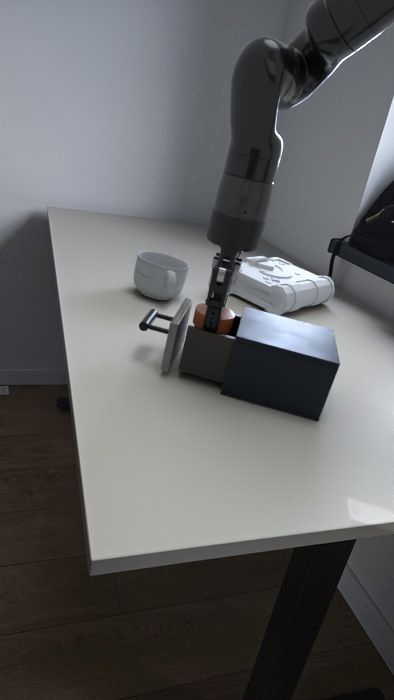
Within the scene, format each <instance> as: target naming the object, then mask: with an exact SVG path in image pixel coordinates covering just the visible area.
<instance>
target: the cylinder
mask: <svg viewBox="0 0 394 700" xmlns="http://www.w3.org/2000/svg"><path fill="white" fill-rule="evenodd" d="M206 310H207V305H206V302H201V303H197V304H196V306H195V309H194V313H193V317H192V324H193V326H194V325H195V326H196V327H199V328H202V329H203V323H204V318H205V314H206ZM234 313H235V312H234V311H232V310H231V309H230V308H229V307H227V306H225V307H224V309H223V310H222V314H221V319H220V323H219V327H218V330H217V331H216V332H217V333H221V334H227V333H229V332H230V331H231V329H232V325H233V321H234V318H235V314H236V313H235V314H234Z"/></svg>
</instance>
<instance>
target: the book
mask: <svg viewBox="0 0 394 700" xmlns="http://www.w3.org/2000/svg"><path fill="white" fill-rule="evenodd" d="M244 258H245V259H244V262H243V261H242V264H241V268H240V270H239V273H238V275H237V278H236V282H235V284H234V285H233V289H232V292H231V293H230V294H231V295H236V296H238V297H240V298H242V299H244V300H246V301H248V302H250V303H252V304H254V305H257V306H258V307H261V308H263V309H264V311H265V312H267V313H271V314H275V315H278V316H282V315H283V314H285V313H286V314H287V313H290V312H294V311H298V310H300V308H307V307H313V306H316V305H320V304H324V303H328V302H329V301H330V300H331V299H333V297H334V295H335V290H336V289H335V283H334V281H333V279H332V278H331V277H330V276H327V275H318V274H315V273H313V272H310V271H308V270H305V269H303V268H301V267H299V266H296V265H294V264H293V263H292V262H290V261H288V260H285V259H284V258H281V257H278V256H273V257H266V256H264V255H259V256H248V257H244Z"/></svg>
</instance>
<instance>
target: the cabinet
mask: <svg viewBox="0 0 394 700" xmlns="http://www.w3.org/2000/svg"><path fill="white" fill-rule="evenodd" d="M241 315H242V317H241V320H240V324H239V328H238V331H237V335H236V339H235V342H234V346H233V350H232V353H231V357H230V361H229V364H228V368H227V372H226V375H225V379H224V383H222V386H221V390H220V395H222V394H223V395H222V396H225V395H227V396H226V397H228V398H229V397H230V398H232V397H233V399H236V400H240V401H243V402H247V403H250V404H254V405H258V406H261V407H265V408H270V409H273V410H275V411H279V412H283V413H286V412H288V413H287V414H290V415H293V414H294V415H293V416H297V417H301V416H302V417H301V418H304V417H305V419H308V418H309V419H308V420H311V419H312V421H315V422H319V420H320V418H321V415H322V412H323V410H324V408H325V404H326V402H327V400H328V397H329V394H330V392H331V389H332V387H333V384H334V382H335V379H336V376H337V374H338V372H339V368H340V366H341V362H340V357H339V351H338V347H337V342H336V341H337V340H336V336H335V331H334V329H331V328H327V327H323V326H320V325H316V324H312V323H308V322H305V321H301V320H298V319H293V318H289V317H286V316H282V315H275V314H271V313H267V311H263V310H259V309H255V308H251V307H248V306H243V310H242V314H241Z"/></svg>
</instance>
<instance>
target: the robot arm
mask: <svg viewBox="0 0 394 700" xmlns="http://www.w3.org/2000/svg"><path fill="white" fill-rule="evenodd" d="M303 20H304V21H303V22H304V28H303V29H302V30H301V31H300V32H299V33H298V34H297V35H296V36H295V37H294V38H293V39H292V40H291V41H289V42H288V43H287V44H286V43H284V42H282V41H280V40H279V39H277V38H275V37H272V36H268V35H267V36H266V35H262V36H257V37H255V38H253V39H251V40H250V41H248V42H247V43H246V44H245V45H244V46H243V48H242V49H241V50H240V52H239V54H238V56H237V58H236V60H235V63H234V65H233V69H232V72H231V78H230V85H229V140H228V143H227V147H226V148H227V150H226V153H225V158H224V163H223V167H222V171H221V175H220V178H219V180H218V183H217V186H216V189H215V194H214V198H213V202H212V203H213V204H212V208H211V213H210V217H209V221H208V226H207V230H206V239H207V240H208V241H209V242H210V243H211V244H213V245H217V246H219V247H220V252H218V251H216V252H215V255H214V256H213V258H212V262H211V271H210V276H209V280H208V284H207V286H208V291H207V296H206V298H205V301H204V303H206V305H207V310H206V314H205V318H204V323H203V329H206V330H210V331H214V332H216V331H217V330H218V327H219V323H220V319H221V314H222V310H223V309H224V307H227V306H226V305H227V301H228V298H229V295H230V294H231V292H232V289H233V285H234V284H235V282H236V278H237V275H238V273H239V270H240V268H241V264H242V262H243V258H242V257H240V256H241V255H242V252H244V253H253V252H256V251H258V250H259V248H260V244H261V241H262V236H263V233H264V229H265V225H266V222H267V218H268V215H269V211H270V207H271V204H272V203H271V202H272V199H273V190H274V184H275V181H276V177H277V174H278V169H279V167H280V162H281V157H282V153H283V148H284V142H283V138H282V137H281V135H280V134H278V132H277V130H276V129H277V128H276V127H277V118H278V111H286V110H289V109H292V108H293V107H295V106H297V105H299V104H300V103H302V102H304V101H305V100H306V99H308V98H309V97H310V96H311V95H312V94H313V93H314V92H316V90H317V89H318V88H320V86H322V84H323V83H324V82H325V81H326V80H327V79H328V78H329V77H330V76H331V75H332V74H333V73H334V72H335V71H336V69H337V68H338V67H339V66H340V64H342V62H343V61H345V60H346V59H347V58H349V57H351V56H352V55H353V54H355V53H356V52H358V51H359V50H360V49H362V48H364V47H365V46H366V45H367V44H369V43H370V42H371V41H372V40H374V39H376V38H377V37H378V36H379V35H381V34H382V33H384V32H385V31H386V30H388V29H389V28H390V27H391V26H393V25H394V0H313V1H312V2H311V3H310V4H309V5H308V7H307V9H306V11H305V13H304V19H303Z"/></svg>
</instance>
